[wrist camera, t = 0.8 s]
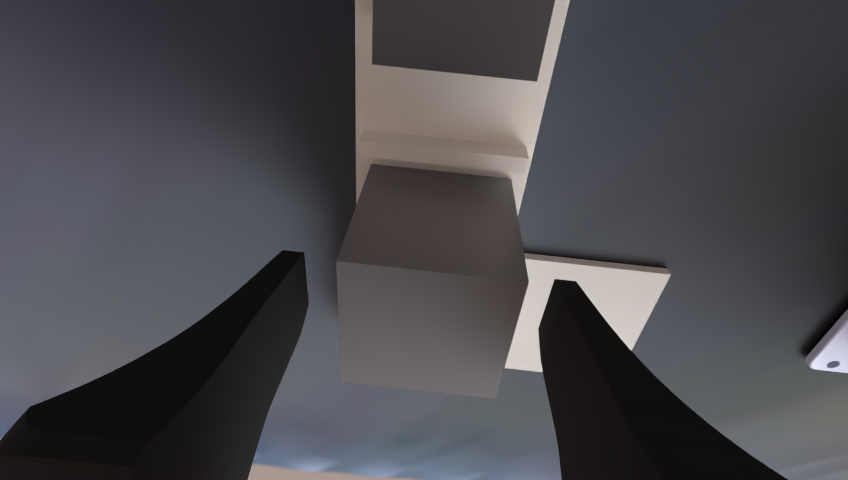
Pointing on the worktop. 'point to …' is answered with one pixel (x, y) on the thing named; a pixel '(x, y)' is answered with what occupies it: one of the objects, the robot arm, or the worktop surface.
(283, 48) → the worktop surface
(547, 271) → the mat
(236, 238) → the worktop surface
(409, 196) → the block
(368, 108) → the power strip
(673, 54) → the worktop surface
